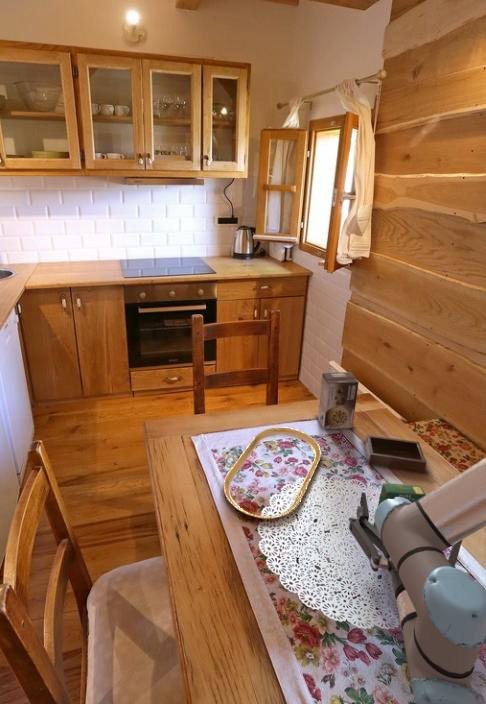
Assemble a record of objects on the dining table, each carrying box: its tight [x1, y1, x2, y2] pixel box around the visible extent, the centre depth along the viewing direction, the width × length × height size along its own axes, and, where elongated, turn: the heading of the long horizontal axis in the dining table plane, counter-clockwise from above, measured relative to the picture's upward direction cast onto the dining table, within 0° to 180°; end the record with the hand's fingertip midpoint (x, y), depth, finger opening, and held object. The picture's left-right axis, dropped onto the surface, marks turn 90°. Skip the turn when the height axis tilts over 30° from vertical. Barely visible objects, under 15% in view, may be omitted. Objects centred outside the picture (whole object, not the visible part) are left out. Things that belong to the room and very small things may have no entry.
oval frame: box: [223, 426, 322, 520], centre depth 104 cm, size 19×35×2 cm, turn 151°
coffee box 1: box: [317, 371, 360, 430], centre depth 121 cm, size 9×6×16 cm
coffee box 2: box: [372, 482, 427, 530], centre depth 84 cm, size 8×3×13 cm, turn 87°
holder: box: [364, 434, 428, 474], centre depth 109 cm, size 9×14×4 cm, turn 77°
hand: (396, 502), depth 86 cm, fingers open, 13 cm apart
